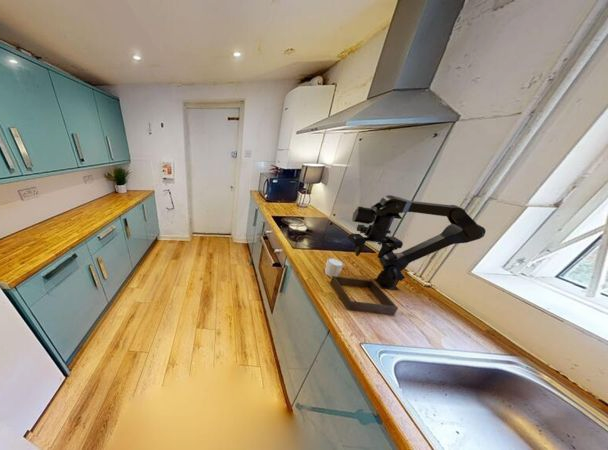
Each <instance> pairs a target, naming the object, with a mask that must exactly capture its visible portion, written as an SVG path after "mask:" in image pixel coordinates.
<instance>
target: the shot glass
mask: <svg viewBox="0 0 608 450" xmlns="http://www.w3.org/2000/svg"><path fill="white" fill-rule="evenodd" d="M344 265H345V264H344V262H343V261H342V260H340V259H337V258H333V257H329V258H327V259H326V263H325V269H324V274H325V275H326V276H327V277H330V278H332V277H333V276H337V277H339V275H340V273H341V271H342V269H343V267H344Z"/></svg>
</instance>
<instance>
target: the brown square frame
mask: <svg viewBox="0 0 608 450" xmlns="http://www.w3.org/2000/svg"><path fill="white" fill-rule="evenodd" d="M329 284H330V285H331V287H332V288H333V290H334V292H335V293H336V295H337V296H338V298H339V300H340V301H341V303H342V305H343V306H344V307H345V310H346V311H354V312H361V313H362V312H363V313H370V314H376V315H377V314H378V315H384V316H385V315H387V316H393V317H394V316H395V314H396V312H397V311H398V309H399V307H398V305H396V304H395V303H394V301H392V300H391V298H390V297H389V296H388V295H387V294H386V293H385V292H384V291H383V290H382V288H380V287H379V286H378V284H377V283H376V281H375V280H374V279H365V278H355V277H346V276H338V277H337V276H333V277H331V279H330V282H329ZM343 286H346V287H353V288H354V287H355V288H364V289H368V290H369V291H370V292H371V293H372V294H373V296H374V297H375V298H376V299H377V300H378V302H379V303H372V302H364V301H362V302H361V301H355V300H351V298H350V297H349V295H348V294H347V292H346V291H345V289H344V288H343Z"/></svg>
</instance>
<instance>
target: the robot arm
mask: <svg viewBox="0 0 608 450" xmlns="http://www.w3.org/2000/svg"><path fill="white" fill-rule="evenodd" d="M352 213H353V214H352V217H351V218H352V219H351V220H352V222H353V223H358V225H357V226H356V232H359V233H354V232H352V233H349V235H348V237H347V239H348V240H349V241H350V242H351V243H352V244H353V245H354V252H355V253H354V254H355V257H359V256H360V254H361V252H362V251H363V249H364V248H365V244H366V243H374V244H375V243H376V244H381V247H380V249H379V251H378V254H377V258H378V259H379V260H378V262H379V264H380V266H381V268H382V270H381V271H379V272H380V273H378V275H377V277H374V278H373V281H374V282H375V283H376V284H377V285H379V286H380V287H381V289H384V290H392V291H393V290H395V291H399V288H398V287H397V286H398V284H399V282H400V281H403V280H404V279H406V277H405V275H404V274H403V273H402V271H404V270H405V269H406V268H407V267H408V266H409V264H411V263H413V262H415V261H417V260H420V259H423V258H424V257H426V256H428V255H432V254H433V253H436V252H438V251H441V250H443V249H445V248H447V247H450V246H452V245H459V244H467V243H471V242H474V241H478V240H480V239H482V238H484V237H485V235H486V232H487V231H486V228H485V227H484V226H482V225H481V224H477V222H476V221H475V219H473V218H472V217H471V216H470V215H469V214H468V213H467V211H466V210H465V208H463V207H460V206H458V205H455V204H442V203H435V202H434V203H433V202H424V201H414V200H410V199H406V198H402V197H401V196H400V197H399V196H396V195H390V194H387V195H385V196H383V197H382V198H381V199H379V201H378V202H376V203H375V204H373V205H372V206H370V207H363V206H360V205H358V206H357V208H356V209H355V210H354V212H352ZM403 213H415V214H416V213H417V214H422V215H423V214H424V215H430V216H431V215H432V216H439V217H446V218H447V220H448V222H449V223H450V224H449V225H447V226H446V227H445V228H444V229H443V231H441V233H439V234H437V235H435V236H433V237H431V238H429V239H426V240H425V241H422V242H420V243H418V244H416V245H414V246H412V247H409V248H407V249H405V250H402V251H401V252H394V251H396V250H398V249H402V247H403V246H404V244H403V243H404V242H403V241H401V240H400V239H399V238H397V237H396V236H391V235H390V236H389V235H388V234H391V232H392V231H391V230H390V228H391V226H392V225H393V222H394V219H397V220H401V219H402V216H401V215H400V214H403ZM365 224H367V225H369V226H366V225H365ZM361 234H364V236H363V235H361Z"/></svg>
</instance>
